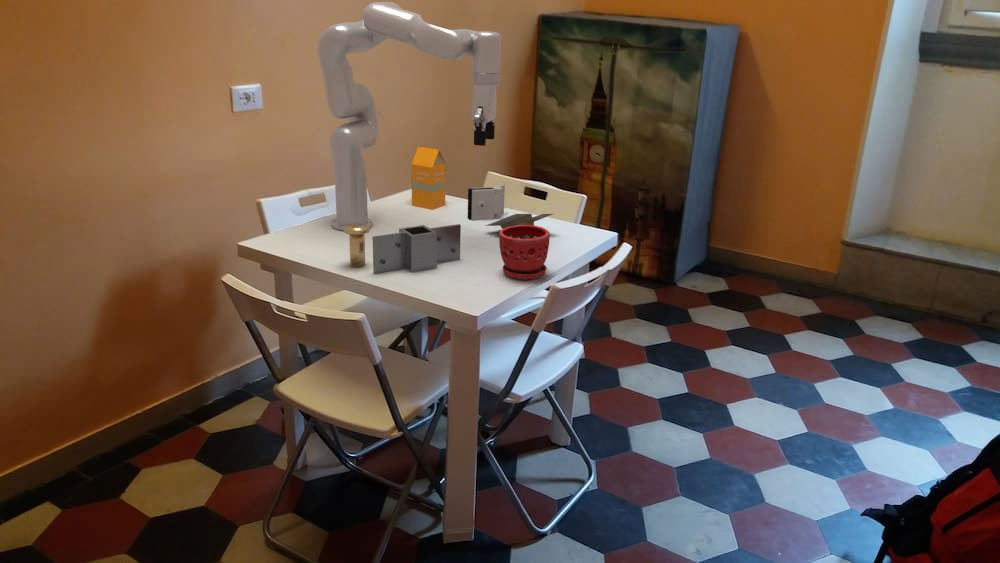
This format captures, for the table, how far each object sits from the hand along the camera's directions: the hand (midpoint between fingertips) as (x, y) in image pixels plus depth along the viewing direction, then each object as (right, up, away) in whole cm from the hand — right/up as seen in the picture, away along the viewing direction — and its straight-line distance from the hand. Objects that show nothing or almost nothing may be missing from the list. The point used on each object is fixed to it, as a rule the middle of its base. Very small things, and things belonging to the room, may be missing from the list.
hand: (484, 142), depth 219 cm
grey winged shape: (+10, -25, +22) cm, 35 cm away
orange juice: (-20, -13, +50) cm, 55 cm away
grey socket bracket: (-18, -35, -7) cm, 40 cm away
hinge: (0, -18, +39) cm, 43 cm away
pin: (-34, -35, -8) cm, 49 cm away
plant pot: (+10, -37, -10) cm, 40 cm away
